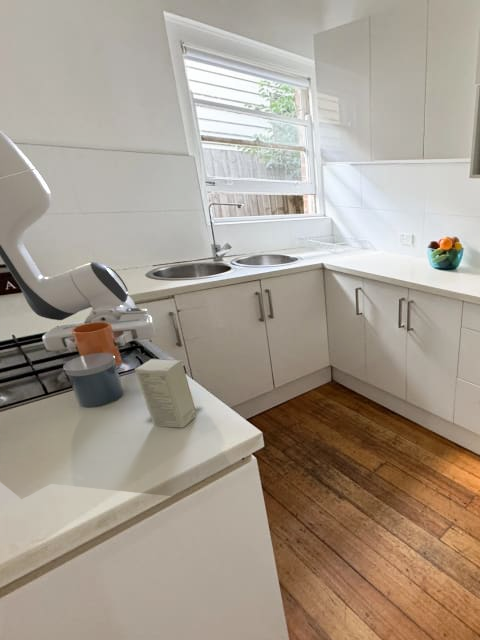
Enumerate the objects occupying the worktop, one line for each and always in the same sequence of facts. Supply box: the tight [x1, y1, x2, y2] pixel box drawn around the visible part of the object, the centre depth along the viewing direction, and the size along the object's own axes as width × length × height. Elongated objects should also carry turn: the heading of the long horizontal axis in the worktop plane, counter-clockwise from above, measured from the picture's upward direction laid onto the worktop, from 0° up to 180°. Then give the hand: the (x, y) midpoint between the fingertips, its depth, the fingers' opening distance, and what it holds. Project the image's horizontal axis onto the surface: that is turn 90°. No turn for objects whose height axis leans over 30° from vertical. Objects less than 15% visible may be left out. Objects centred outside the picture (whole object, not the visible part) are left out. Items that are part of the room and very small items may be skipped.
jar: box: [62, 353, 125, 408], centre depth 77 cm, size 8×8×8 cm
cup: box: [71, 322, 123, 367], centre depth 83 cm, size 7×7×9 cm
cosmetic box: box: [134, 358, 198, 428], centre depth 70 cm, size 6×4×12 cm
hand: (96, 345), depth 82 cm, fingers closed on cup, 7 cm apart
